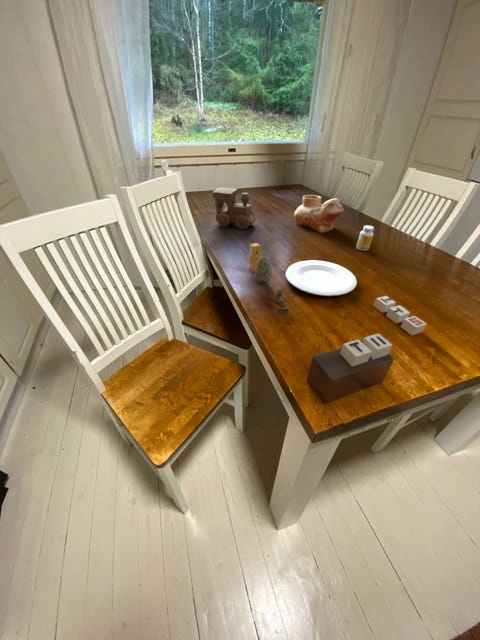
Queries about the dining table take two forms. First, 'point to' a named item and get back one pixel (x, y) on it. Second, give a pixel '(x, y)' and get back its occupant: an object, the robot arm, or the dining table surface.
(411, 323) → the tile
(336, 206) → the ceramic vessel
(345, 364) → the tile rack
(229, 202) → the wooden toy train
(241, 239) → the dining table surface
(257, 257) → the supplement box
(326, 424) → the dining table surface
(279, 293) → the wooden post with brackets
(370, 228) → the supplement bottle
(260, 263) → the decorative egg
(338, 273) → the plate
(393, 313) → the letter cube pair
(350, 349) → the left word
